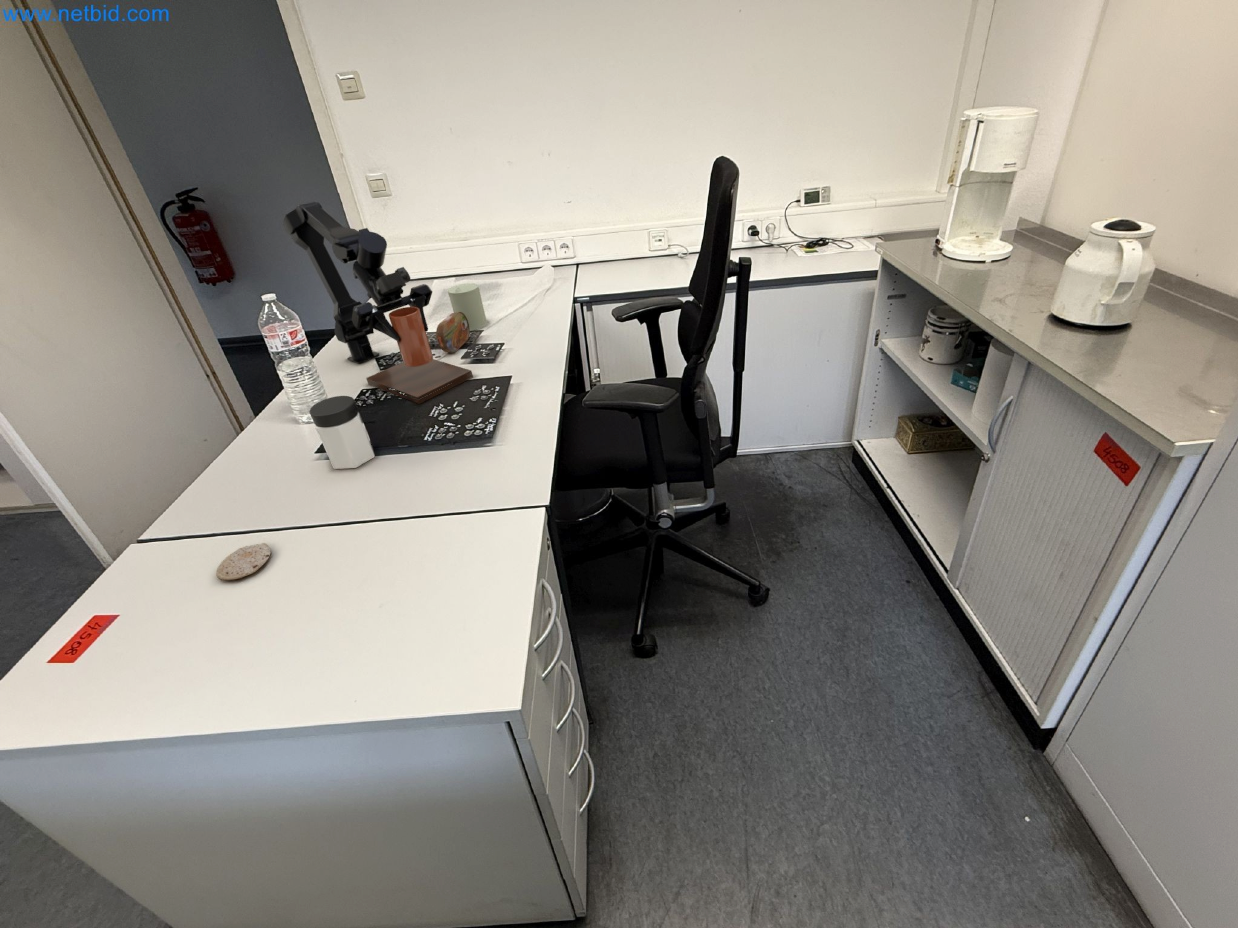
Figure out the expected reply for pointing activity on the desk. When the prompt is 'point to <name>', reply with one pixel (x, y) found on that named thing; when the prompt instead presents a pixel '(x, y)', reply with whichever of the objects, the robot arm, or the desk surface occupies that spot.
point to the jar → (342, 432)
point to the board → (420, 379)
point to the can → (468, 304)
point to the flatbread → (243, 561)
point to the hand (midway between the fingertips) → (413, 335)
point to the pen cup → (411, 336)
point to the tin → (453, 332)
